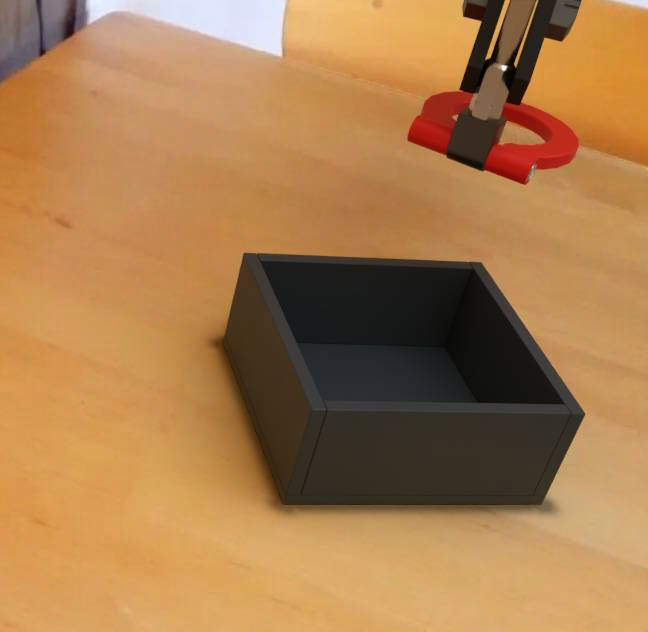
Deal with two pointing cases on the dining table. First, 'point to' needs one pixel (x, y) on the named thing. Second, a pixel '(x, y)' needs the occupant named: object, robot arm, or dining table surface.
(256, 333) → the tote
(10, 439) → the dining table surface
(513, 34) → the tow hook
